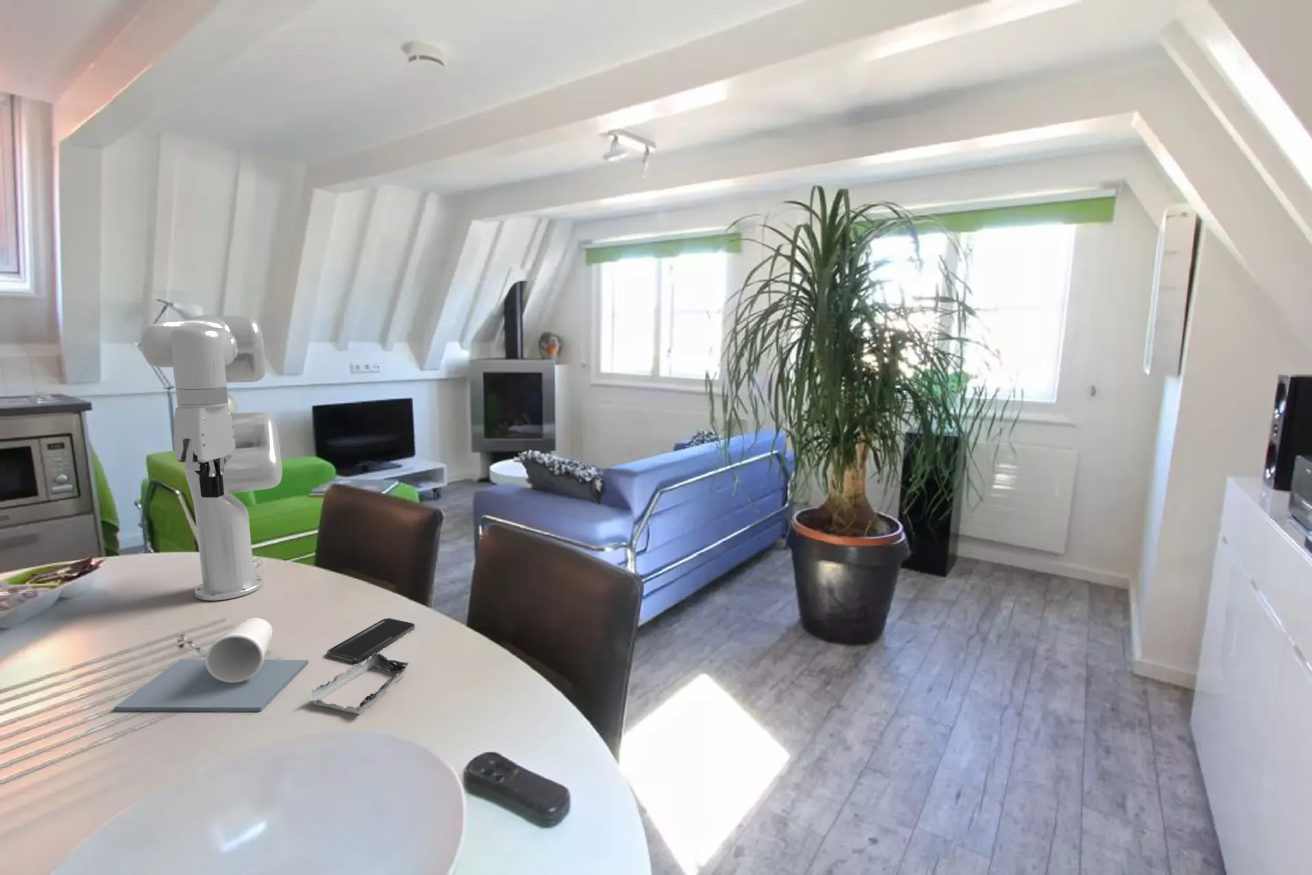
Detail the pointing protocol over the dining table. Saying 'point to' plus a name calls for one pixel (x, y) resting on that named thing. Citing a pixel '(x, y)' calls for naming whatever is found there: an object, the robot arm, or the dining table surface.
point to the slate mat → (211, 688)
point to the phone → (370, 640)
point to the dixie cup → (239, 651)
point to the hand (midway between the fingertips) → (212, 496)
